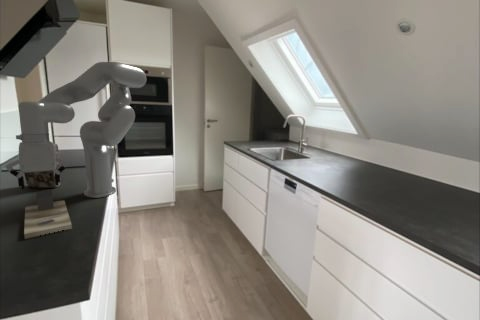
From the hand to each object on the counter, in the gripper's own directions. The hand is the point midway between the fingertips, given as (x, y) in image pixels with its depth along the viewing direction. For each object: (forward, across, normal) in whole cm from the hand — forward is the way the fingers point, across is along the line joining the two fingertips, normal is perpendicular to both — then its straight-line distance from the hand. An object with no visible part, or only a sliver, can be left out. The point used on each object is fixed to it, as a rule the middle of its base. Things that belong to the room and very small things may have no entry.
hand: (40, 186), depth 94 cm
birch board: (+10, +1, -6) cm, 12 cm away
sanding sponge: (+8, +1, +1) cm, 9 cm away
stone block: (+10, +1, +32) cm, 34 cm away
